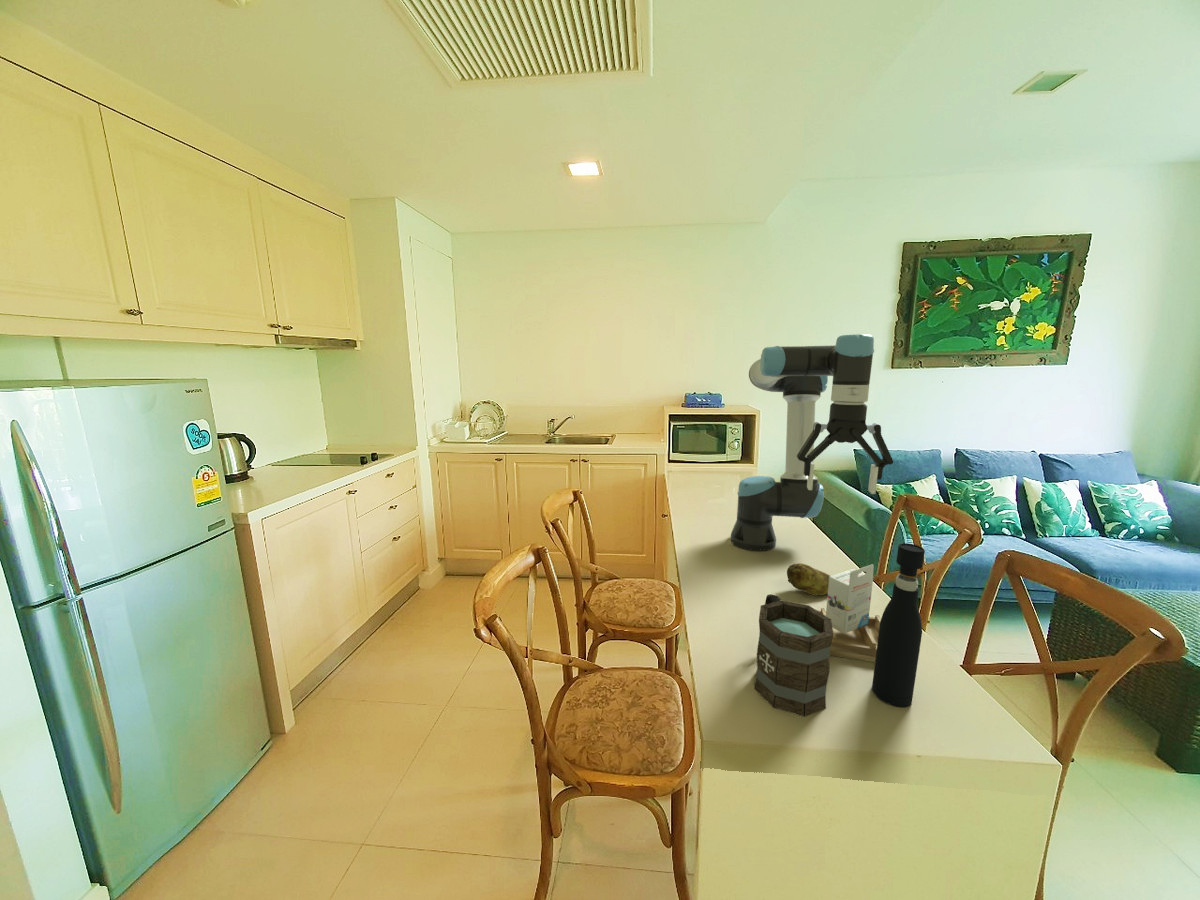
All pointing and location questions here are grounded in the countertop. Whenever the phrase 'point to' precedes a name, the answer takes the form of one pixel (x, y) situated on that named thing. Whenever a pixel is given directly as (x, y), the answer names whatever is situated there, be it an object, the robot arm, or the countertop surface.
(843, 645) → the rack
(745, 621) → the countertop surface
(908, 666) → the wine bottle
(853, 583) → the ink box
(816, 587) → the potato
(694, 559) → the countertop surface
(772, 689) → the mug
